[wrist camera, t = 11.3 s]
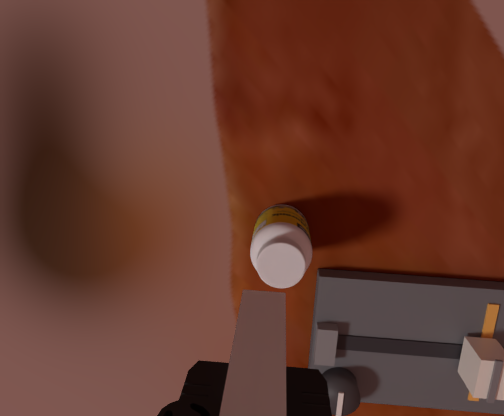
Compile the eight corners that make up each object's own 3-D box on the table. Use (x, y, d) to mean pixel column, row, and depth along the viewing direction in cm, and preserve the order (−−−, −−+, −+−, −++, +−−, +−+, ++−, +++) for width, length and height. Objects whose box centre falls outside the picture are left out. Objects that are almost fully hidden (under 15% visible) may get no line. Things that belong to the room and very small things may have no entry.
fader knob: (464, 334, 45) (483, 360, 41) (496, 336, 45) (517, 363, 41) (457, 372, 47) (473, 401, 43) (487, 375, 46) (507, 404, 42)
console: (317, 268, 47) (321, 288, 43) (559, 286, 46) (588, 308, 42) (306, 385, 51) (308, 414, 47) (528, 404, 50) (552, 436, 45)
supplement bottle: (319, 221, 46) (328, 258, 36) (289, 263, 47) (290, 309, 38) (273, 192, 45) (270, 222, 36) (244, 235, 47) (234, 275, 37)
